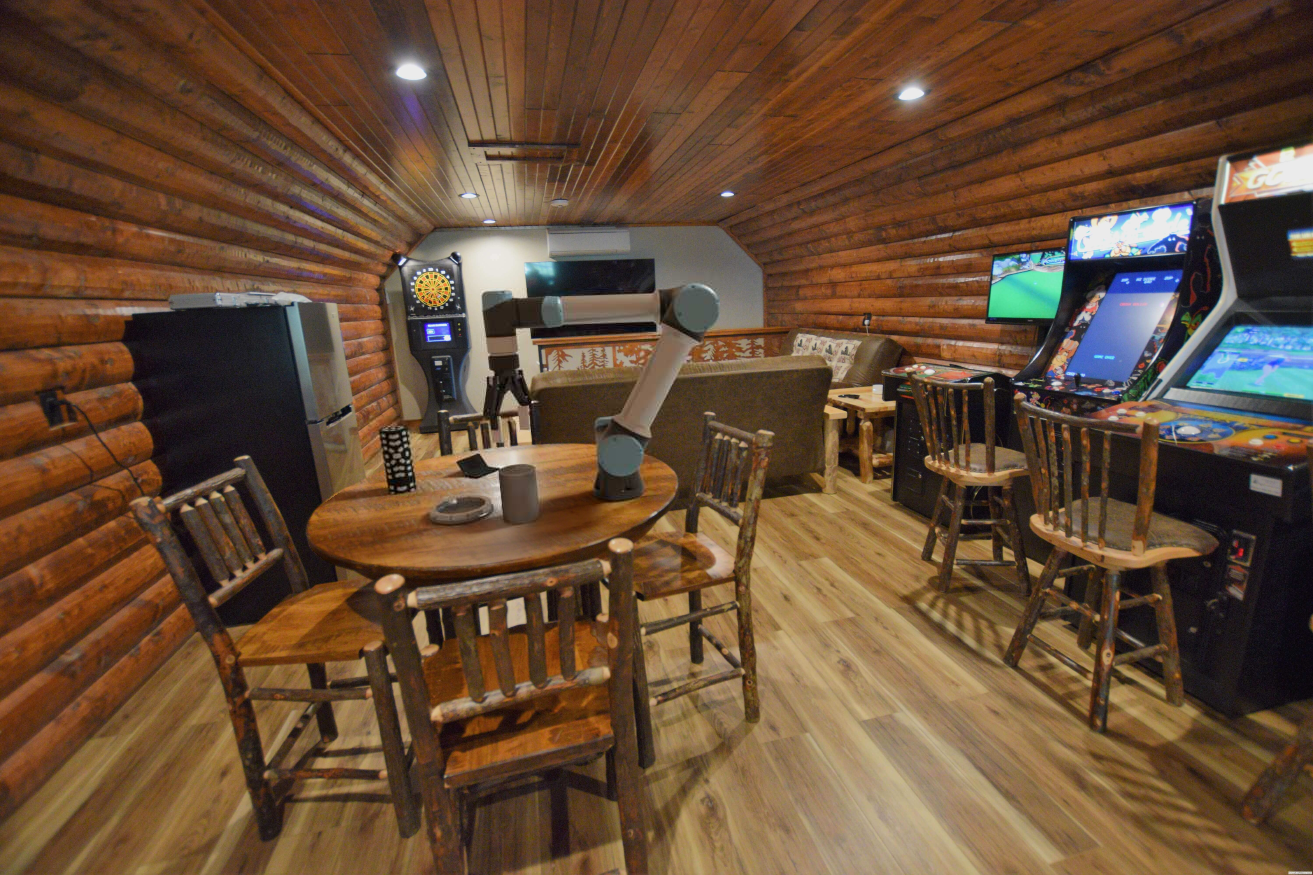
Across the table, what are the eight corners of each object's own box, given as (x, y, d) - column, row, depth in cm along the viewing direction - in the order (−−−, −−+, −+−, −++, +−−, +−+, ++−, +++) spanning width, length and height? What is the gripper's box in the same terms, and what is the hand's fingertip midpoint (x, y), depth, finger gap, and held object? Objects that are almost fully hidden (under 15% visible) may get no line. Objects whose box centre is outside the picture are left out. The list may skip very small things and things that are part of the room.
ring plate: (505, 504, 166) (504, 496, 166) (471, 527, 150) (470, 518, 150) (453, 501, 171) (452, 493, 170) (416, 523, 155) (414, 514, 154)
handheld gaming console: (483, 474, 191) (466, 450, 192) (469, 486, 193) (452, 462, 194) (502, 469, 202) (487, 446, 203) (489, 481, 204) (473, 458, 205)
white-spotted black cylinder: (382, 492, 182) (372, 430, 177) (402, 484, 189) (393, 424, 184) (402, 495, 179) (392, 432, 174) (422, 486, 186) (413, 426, 181)
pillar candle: (500, 515, 158) (494, 462, 154) (535, 508, 162) (530, 457, 158) (507, 527, 150) (500, 472, 146) (544, 520, 153) (539, 466, 150)
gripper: (515, 349, 158) (523, 424, 163) (460, 360, 135) (472, 447, 140) (539, 348, 156) (547, 425, 161) (488, 359, 133) (499, 448, 138)
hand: (512, 435), depth 151 cm, fingers open, 13 cm apart
